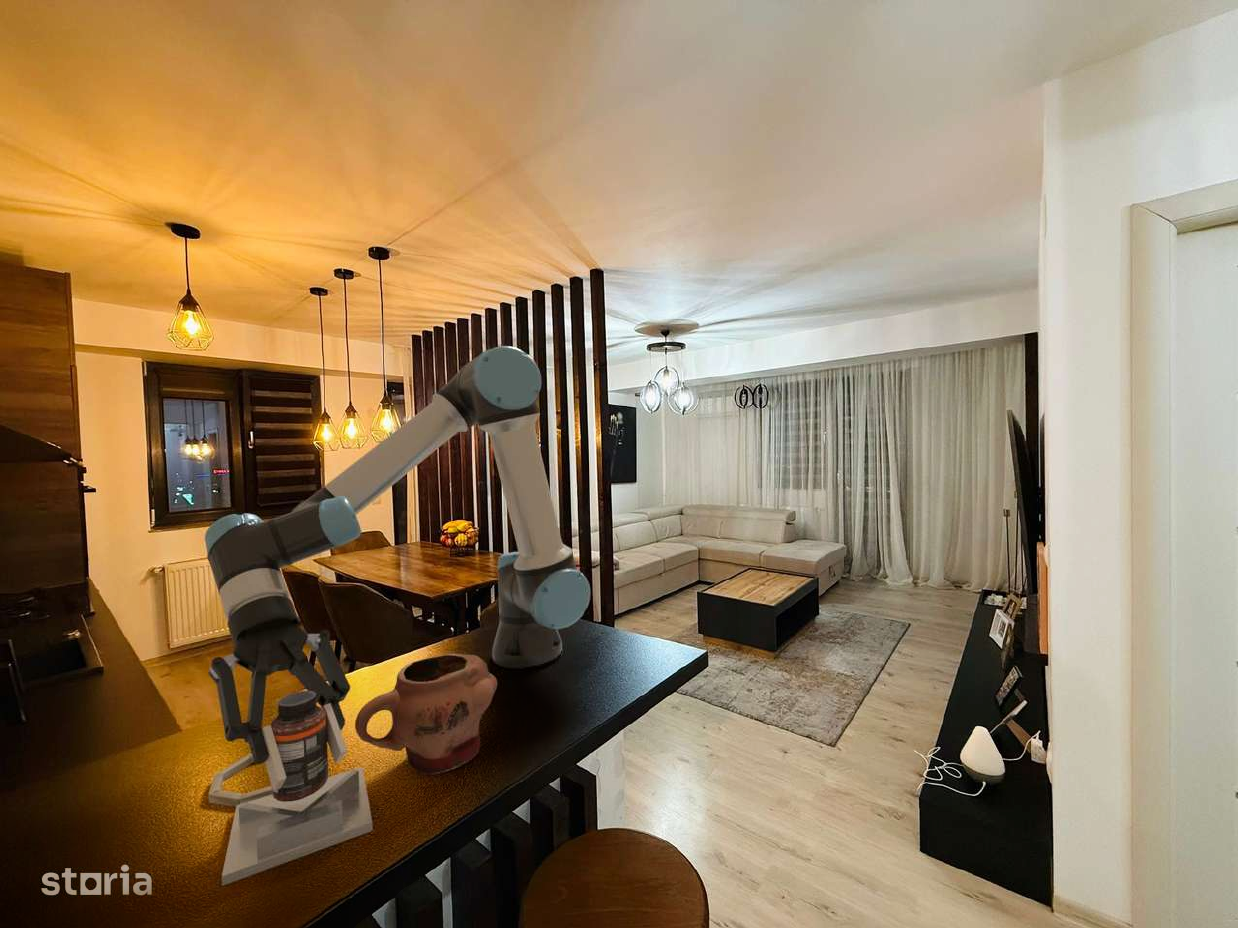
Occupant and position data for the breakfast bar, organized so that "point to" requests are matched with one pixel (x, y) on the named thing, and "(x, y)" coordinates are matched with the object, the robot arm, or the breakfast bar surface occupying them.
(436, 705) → the sculpted ceramic mug
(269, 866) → the v-block
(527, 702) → the breakfast bar surface
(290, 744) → the supplement bottle
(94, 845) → the breakfast bar surface
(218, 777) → the wooden collar
